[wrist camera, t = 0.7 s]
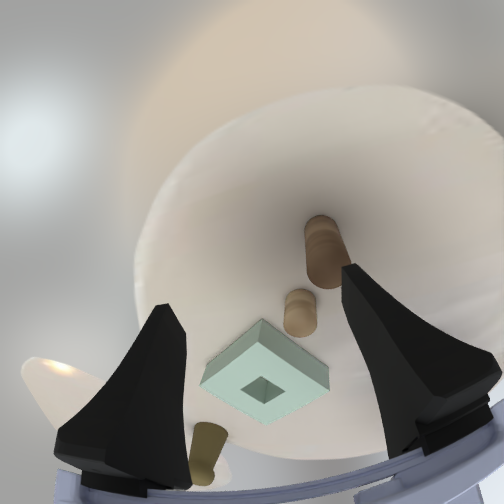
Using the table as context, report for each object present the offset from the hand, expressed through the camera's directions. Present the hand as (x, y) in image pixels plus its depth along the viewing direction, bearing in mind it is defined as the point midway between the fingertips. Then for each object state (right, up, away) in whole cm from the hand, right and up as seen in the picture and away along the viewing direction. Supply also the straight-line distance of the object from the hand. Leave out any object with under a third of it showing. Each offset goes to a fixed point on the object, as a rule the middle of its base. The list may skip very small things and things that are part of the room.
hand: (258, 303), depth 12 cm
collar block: (+2, -12, +23) cm, 26 cm away
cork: (-7, -29, +32) cm, 44 cm away
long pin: (+6, +4, +15) cm, 17 cm away
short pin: (+5, -3, +19) cm, 20 cm away
